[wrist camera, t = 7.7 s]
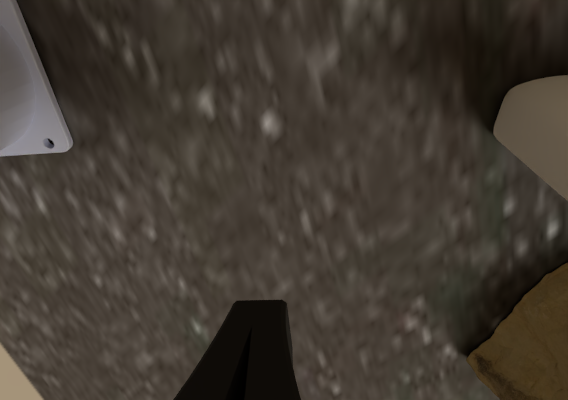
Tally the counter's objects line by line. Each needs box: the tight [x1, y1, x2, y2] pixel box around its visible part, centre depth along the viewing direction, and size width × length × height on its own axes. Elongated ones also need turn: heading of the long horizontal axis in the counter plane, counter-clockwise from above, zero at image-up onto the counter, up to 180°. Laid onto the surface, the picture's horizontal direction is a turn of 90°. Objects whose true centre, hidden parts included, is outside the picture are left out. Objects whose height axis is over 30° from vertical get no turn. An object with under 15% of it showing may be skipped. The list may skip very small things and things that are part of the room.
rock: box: [466, 263, 568, 400], centre depth 19 cm, size 11×9×10 cm
